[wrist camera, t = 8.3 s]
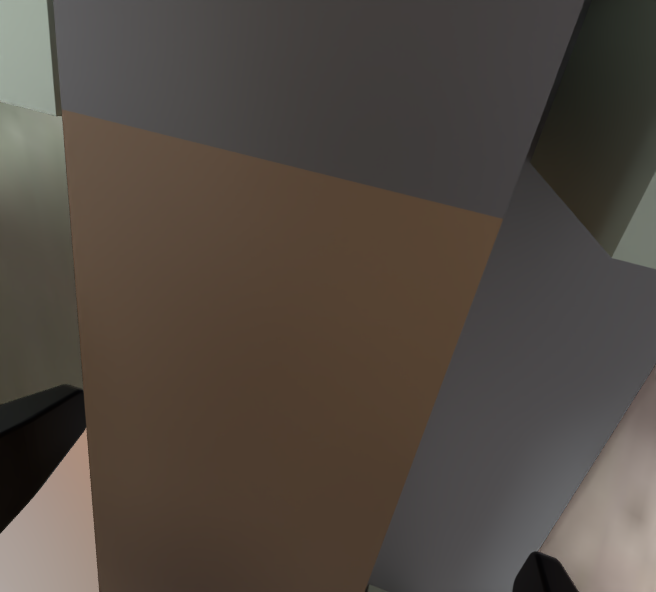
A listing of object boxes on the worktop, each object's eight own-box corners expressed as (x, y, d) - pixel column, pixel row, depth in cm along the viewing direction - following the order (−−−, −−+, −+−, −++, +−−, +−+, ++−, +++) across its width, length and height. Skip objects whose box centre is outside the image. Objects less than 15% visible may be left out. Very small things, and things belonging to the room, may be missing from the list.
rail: (240, 570, 15) (117, 834, 10) (328, -1, 8) (38, -188, 2) (327, 605, 15) (249, 902, 9) (507, 32, 7) (623, -108, 2)
